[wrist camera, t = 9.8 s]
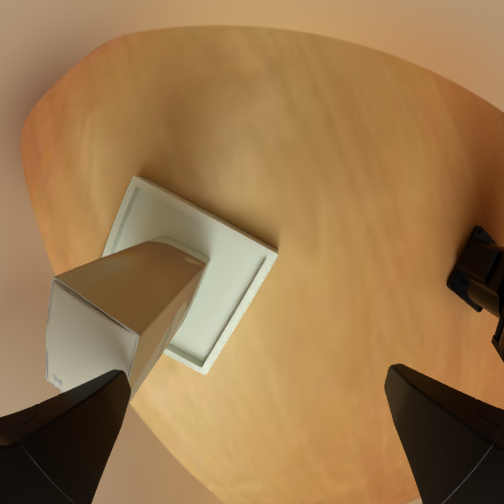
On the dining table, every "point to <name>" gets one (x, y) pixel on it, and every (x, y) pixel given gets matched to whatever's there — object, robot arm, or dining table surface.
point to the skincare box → (120, 312)
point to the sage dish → (217, 274)
